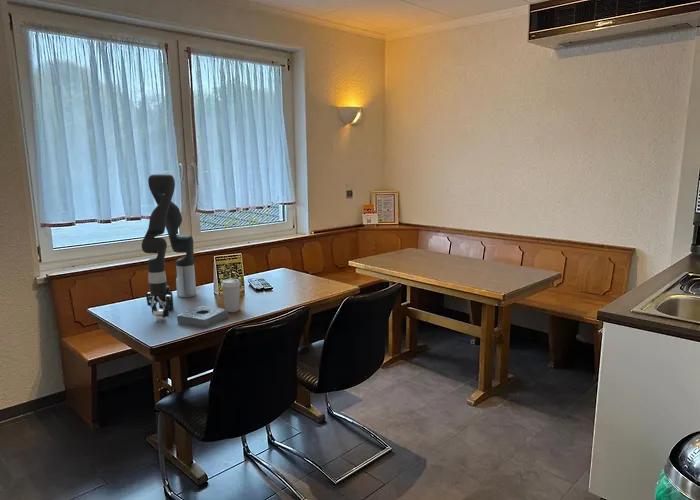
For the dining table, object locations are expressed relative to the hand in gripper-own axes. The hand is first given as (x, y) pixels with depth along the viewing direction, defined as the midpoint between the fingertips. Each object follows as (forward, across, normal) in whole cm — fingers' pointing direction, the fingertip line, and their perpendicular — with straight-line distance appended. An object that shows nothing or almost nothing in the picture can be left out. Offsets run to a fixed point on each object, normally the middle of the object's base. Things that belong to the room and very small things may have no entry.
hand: (160, 315), depth 230 cm
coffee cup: (+3, +21, +26) cm, 34 cm away
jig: (+3, +18, +8) cm, 20 cm away
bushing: (+3, 0, 0) cm, 3 cm away
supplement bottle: (+3, -10, +14) cm, 17 cm away
